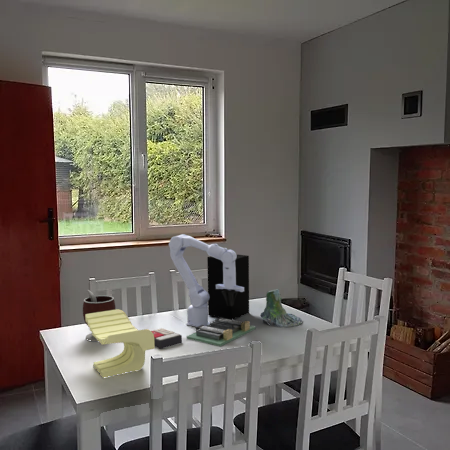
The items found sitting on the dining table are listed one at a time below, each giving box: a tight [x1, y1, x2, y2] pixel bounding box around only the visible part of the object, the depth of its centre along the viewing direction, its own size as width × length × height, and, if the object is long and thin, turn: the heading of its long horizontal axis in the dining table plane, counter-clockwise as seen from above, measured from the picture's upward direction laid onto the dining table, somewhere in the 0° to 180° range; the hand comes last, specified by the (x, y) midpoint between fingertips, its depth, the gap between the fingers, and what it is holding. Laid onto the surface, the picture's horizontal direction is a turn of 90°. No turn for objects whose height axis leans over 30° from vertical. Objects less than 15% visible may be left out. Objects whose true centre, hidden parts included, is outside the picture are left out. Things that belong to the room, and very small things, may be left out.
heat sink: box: [195, 317, 250, 341], centre depth 217 cm, size 16×22×4 cm
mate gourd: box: [82, 289, 117, 342], centre depth 214 cm, size 16×14×20 cm
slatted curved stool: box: [85, 308, 156, 379], centre depth 179 cm, size 30×16×18 cm, turn 30°
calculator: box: [150, 327, 183, 350], centre depth 208 cm, size 11×4×15 cm
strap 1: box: [199, 326, 225, 334], centre depth 211 cm, size 12×3×1 cm, turn 55°
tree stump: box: [260, 288, 303, 328], centre depth 234 cm, size 18×20×18 cm
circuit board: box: [186, 325, 256, 347], centre depth 217 cm, size 18×28×1 cm, turn 145°
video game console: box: [206, 253, 250, 320], centre depth 245 cm, size 15×15×30 cm
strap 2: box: [218, 318, 243, 325], centre depth 223 cm, size 12×3×1 cm, turn 55°
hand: (230, 305), depth 225 cm, fingers closed
